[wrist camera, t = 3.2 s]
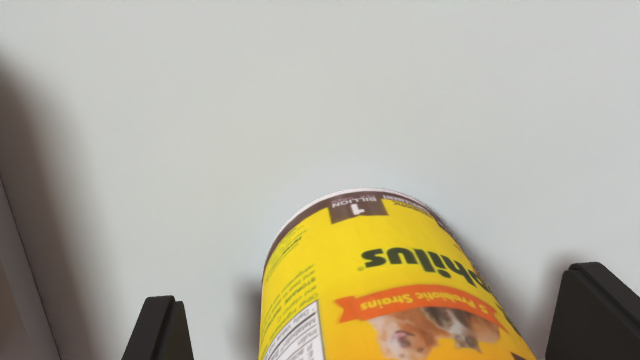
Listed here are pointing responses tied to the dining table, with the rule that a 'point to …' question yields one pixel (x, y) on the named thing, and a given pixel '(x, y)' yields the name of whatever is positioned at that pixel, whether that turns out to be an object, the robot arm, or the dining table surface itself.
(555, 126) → the dining table surface
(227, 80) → the dining table surface
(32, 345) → the block sorting tray
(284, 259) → the supplement bottle
